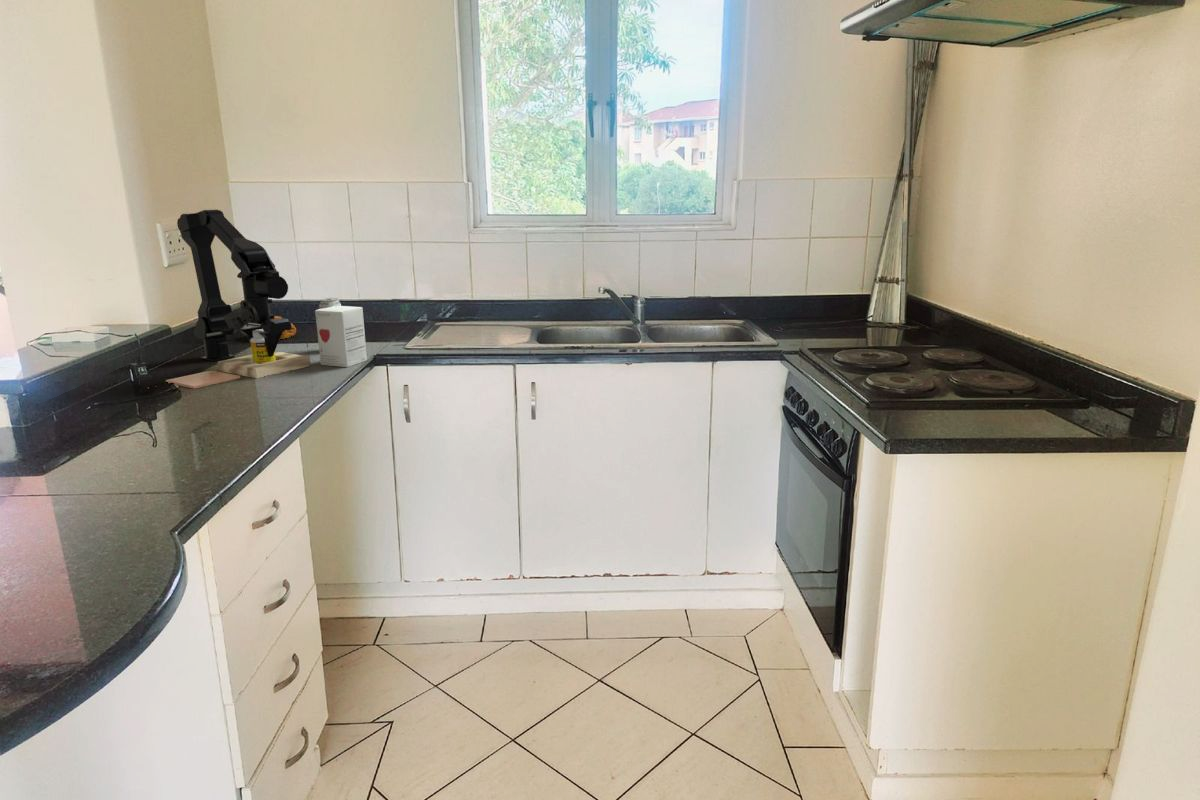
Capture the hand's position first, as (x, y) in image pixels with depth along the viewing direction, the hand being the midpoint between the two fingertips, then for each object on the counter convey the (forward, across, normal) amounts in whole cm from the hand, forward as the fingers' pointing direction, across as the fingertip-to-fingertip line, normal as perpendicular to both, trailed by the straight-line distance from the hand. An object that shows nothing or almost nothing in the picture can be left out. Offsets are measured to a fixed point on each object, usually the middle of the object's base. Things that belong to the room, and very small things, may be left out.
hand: (263, 355), depth 201 cm
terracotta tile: (+4, -2, -16) cm, 16 cm away
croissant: (+4, -37, +28) cm, 47 cm away
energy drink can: (+4, -3, +25) cm, 25 cm away
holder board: (+4, 0, 0) cm, 4 cm away
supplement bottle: (+4, 0, 0) cm, 4 cm away
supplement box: (+4, +13, +15) cm, 20 cm away
